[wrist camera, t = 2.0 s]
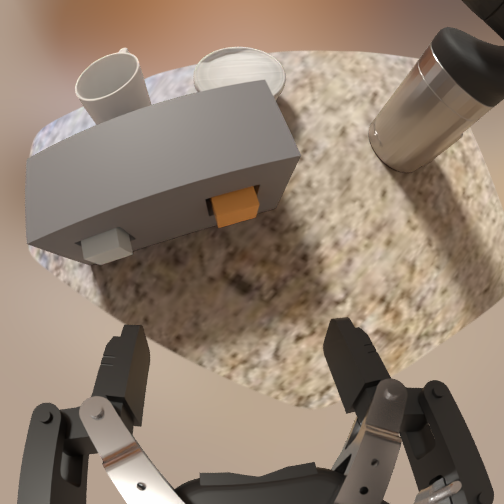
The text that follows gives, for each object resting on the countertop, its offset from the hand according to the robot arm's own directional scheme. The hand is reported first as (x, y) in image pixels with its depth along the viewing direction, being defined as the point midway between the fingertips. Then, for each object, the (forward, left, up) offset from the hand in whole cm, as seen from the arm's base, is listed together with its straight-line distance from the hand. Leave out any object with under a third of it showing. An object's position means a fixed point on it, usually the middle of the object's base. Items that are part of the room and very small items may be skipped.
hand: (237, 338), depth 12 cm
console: (+7, -13, -18) cm, 23 cm away
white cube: (+11, -7, -13) cm, 19 cm away
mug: (+12, -24, -18) cm, 32 cm away
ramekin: (-1, -28, -18) cm, 33 cm away
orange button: (0, -11, -13) cm, 17 cm away
